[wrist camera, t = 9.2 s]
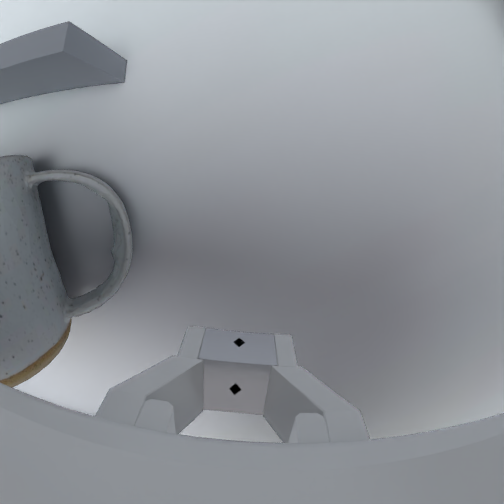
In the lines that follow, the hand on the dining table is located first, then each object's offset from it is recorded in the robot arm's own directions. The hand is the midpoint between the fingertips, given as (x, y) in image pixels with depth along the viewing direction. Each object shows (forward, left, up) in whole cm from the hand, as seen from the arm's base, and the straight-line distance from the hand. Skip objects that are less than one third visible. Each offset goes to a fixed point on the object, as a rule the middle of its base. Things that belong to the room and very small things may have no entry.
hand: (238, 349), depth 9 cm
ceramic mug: (+10, -2, -5) cm, 11 cm away
